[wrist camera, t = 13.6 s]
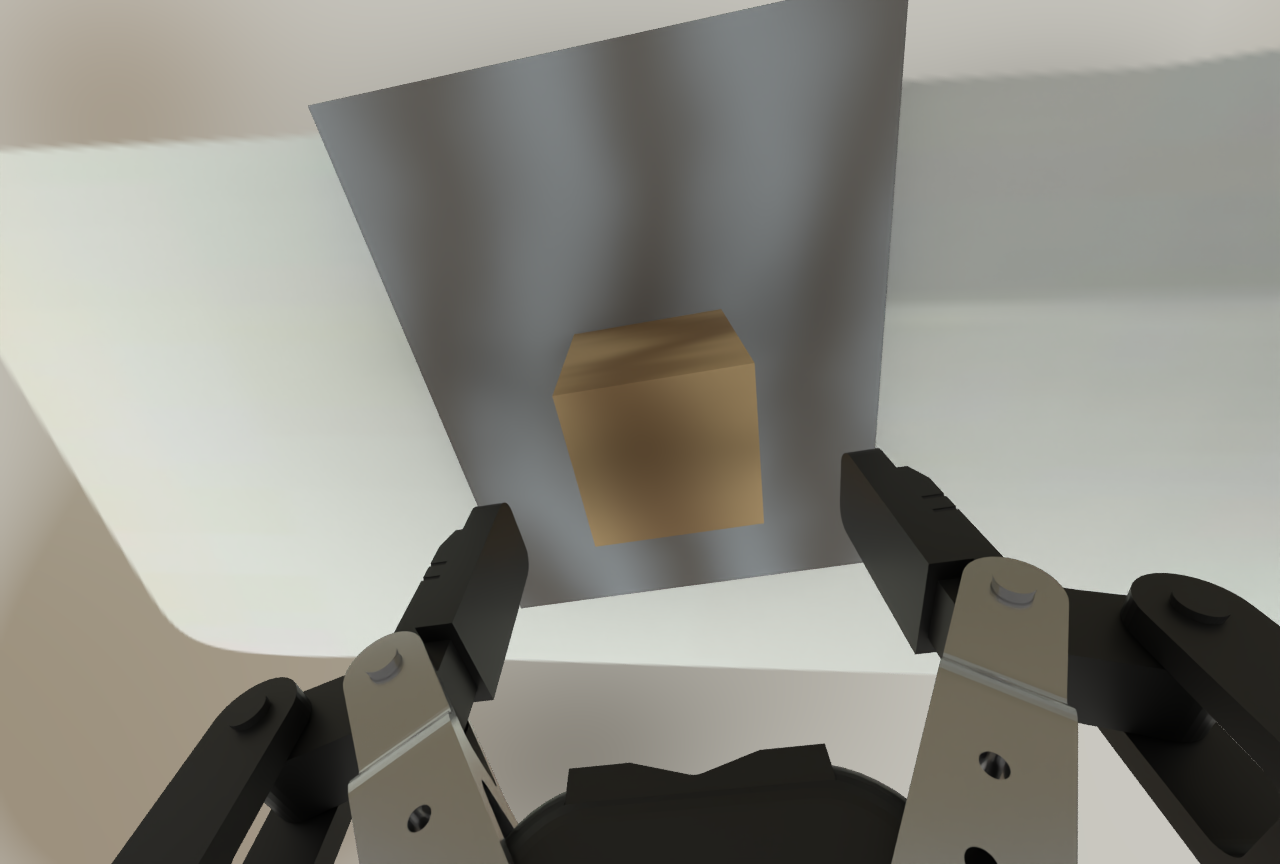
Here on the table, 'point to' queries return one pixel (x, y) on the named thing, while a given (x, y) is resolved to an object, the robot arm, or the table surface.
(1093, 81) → the table surface
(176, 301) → the table surface
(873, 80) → the slate board
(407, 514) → the table surface
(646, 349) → the oak cube
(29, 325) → the table surface
